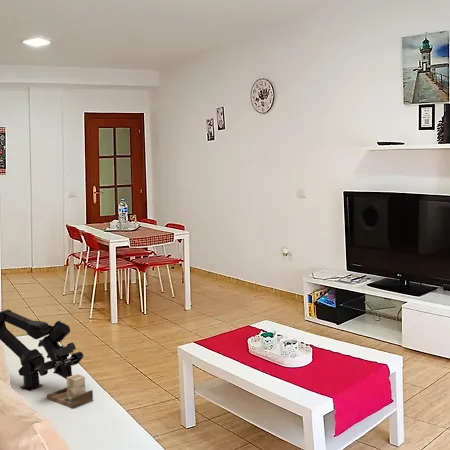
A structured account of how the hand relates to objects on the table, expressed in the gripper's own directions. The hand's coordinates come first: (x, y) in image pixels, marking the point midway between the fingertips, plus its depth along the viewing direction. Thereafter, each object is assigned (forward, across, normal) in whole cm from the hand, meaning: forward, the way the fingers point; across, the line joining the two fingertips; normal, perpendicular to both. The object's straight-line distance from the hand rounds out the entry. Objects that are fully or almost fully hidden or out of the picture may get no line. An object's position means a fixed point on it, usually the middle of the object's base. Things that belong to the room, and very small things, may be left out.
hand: (71, 380), depth 229 cm
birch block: (+6, 0, +2) cm, 6 cm away
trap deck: (+5, -2, +4) cm, 7 cm away
